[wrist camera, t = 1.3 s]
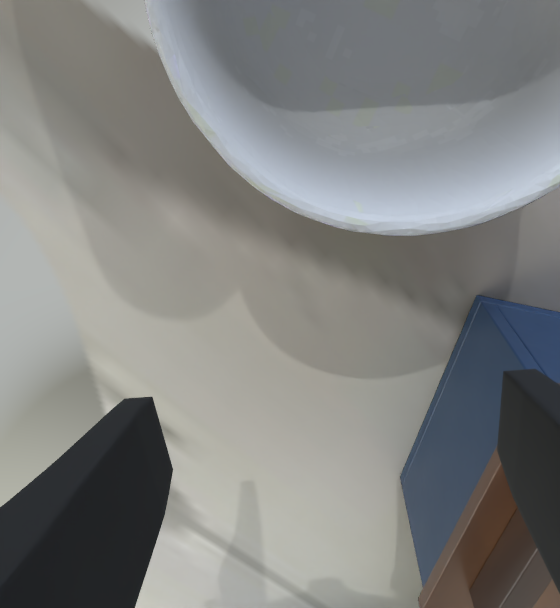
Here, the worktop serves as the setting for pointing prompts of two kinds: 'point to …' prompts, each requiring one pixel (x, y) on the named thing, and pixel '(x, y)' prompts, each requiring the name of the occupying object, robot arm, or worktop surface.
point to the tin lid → (490, 555)
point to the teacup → (374, 103)
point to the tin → (470, 415)
